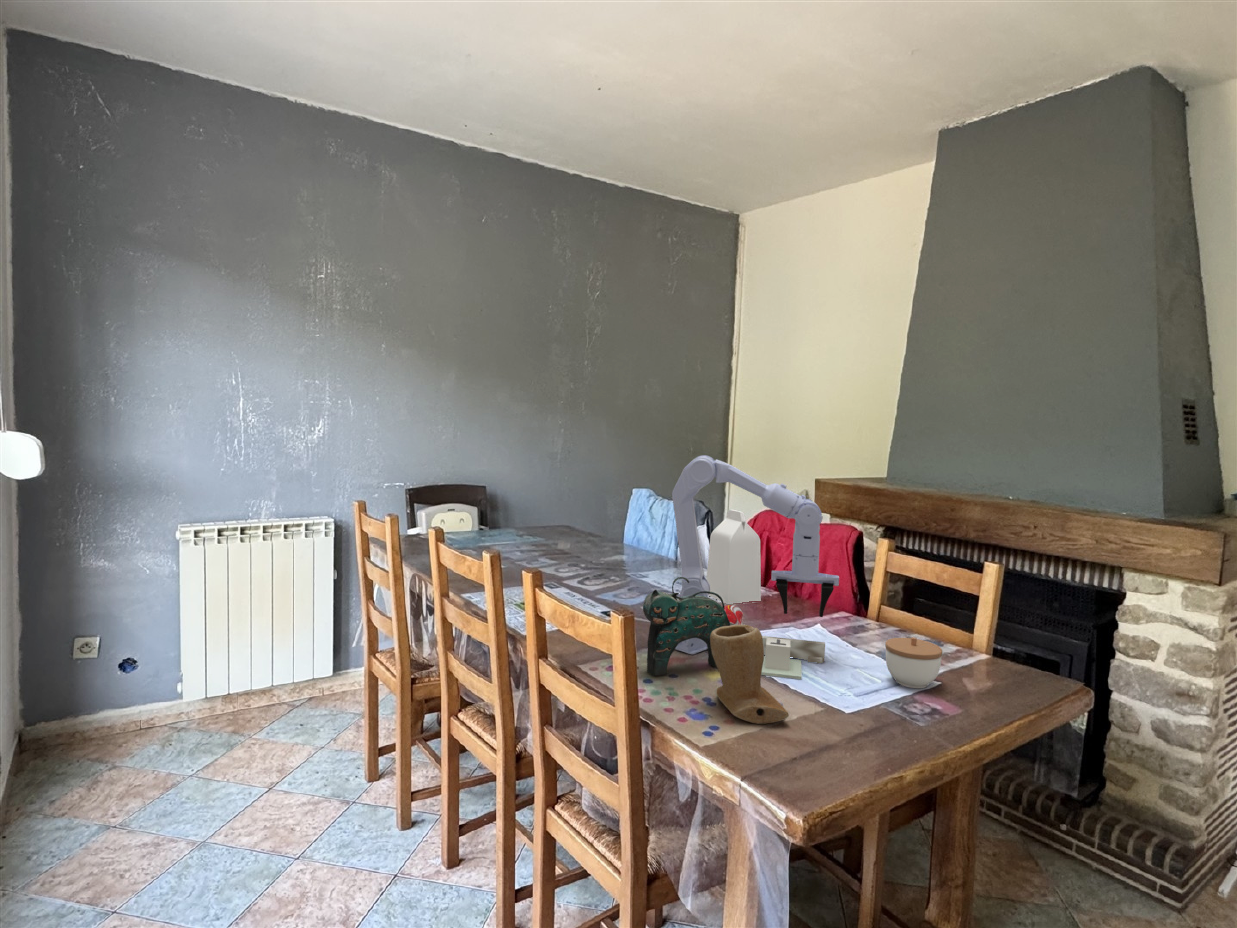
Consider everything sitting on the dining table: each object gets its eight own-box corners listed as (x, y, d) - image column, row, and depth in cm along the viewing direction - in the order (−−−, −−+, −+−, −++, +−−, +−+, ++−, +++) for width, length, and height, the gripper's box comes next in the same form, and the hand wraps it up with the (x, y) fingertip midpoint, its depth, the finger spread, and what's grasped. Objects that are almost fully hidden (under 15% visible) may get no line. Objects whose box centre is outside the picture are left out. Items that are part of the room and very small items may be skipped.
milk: (705, 594, 209) (708, 508, 207) (737, 591, 214) (740, 507, 212) (727, 605, 198) (731, 514, 196) (760, 601, 203) (764, 512, 201)
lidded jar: (872, 676, 146) (874, 632, 146) (912, 670, 150) (915, 627, 149) (910, 695, 136) (912, 648, 136) (952, 689, 140) (955, 643, 139)
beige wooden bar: (823, 658, 156) (824, 640, 156) (824, 664, 152) (825, 646, 152) (733, 648, 161) (734, 631, 161) (732, 653, 157) (732, 636, 157)
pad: (801, 662, 153) (801, 660, 153) (801, 679, 143) (801, 676, 143) (754, 657, 155) (754, 655, 155) (751, 673, 146) (751, 670, 145)
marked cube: (789, 662, 151) (790, 639, 151) (789, 670, 146) (790, 646, 146) (765, 659, 152) (766, 636, 152) (764, 667, 148) (765, 644, 147)
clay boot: (700, 693, 134) (703, 617, 133) (760, 692, 136) (763, 616, 135) (723, 729, 119) (726, 643, 118) (789, 726, 121) (793, 642, 120)
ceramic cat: (648, 680, 141) (651, 582, 139) (635, 668, 147) (638, 574, 145) (733, 669, 148) (737, 576, 147) (718, 658, 154) (721, 569, 153)
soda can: (746, 630, 172) (744, 648, 161) (718, 631, 174) (713, 649, 163) (743, 602, 172) (740, 618, 160) (715, 603, 174) (709, 619, 162)
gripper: (838, 553, 158) (836, 612, 159) (773, 548, 162) (771, 606, 163) (840, 559, 151) (837, 621, 152) (772, 554, 155) (769, 614, 156)
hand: (803, 614), depth 157 cm, fingers open, 7 cm apart
